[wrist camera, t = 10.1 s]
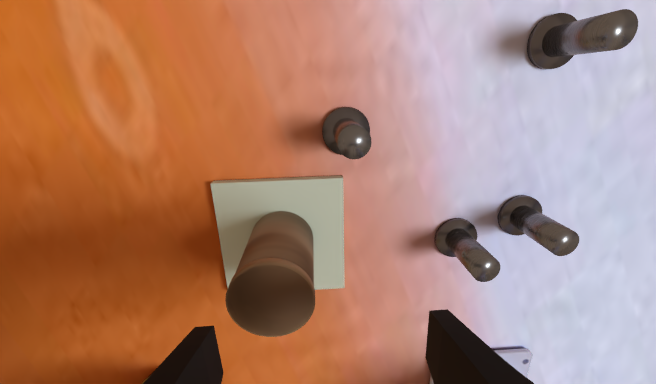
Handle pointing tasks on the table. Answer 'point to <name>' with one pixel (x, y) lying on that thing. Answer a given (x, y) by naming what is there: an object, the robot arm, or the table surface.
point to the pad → (292, 196)
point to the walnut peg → (274, 277)
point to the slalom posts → (521, 211)
